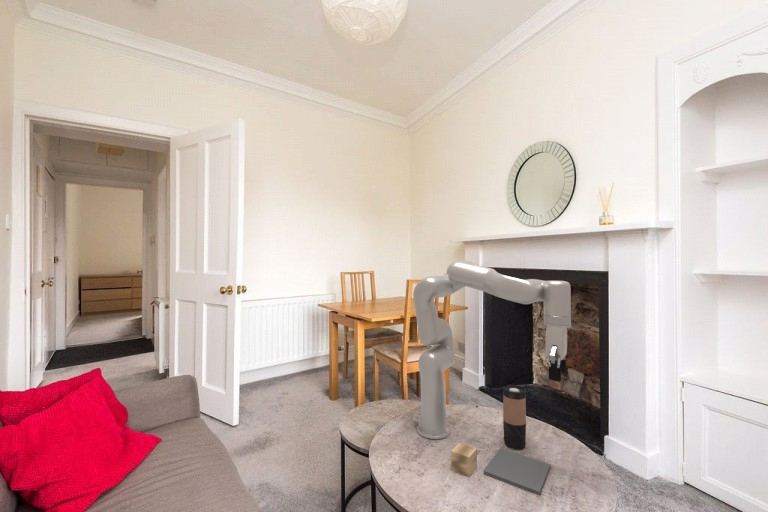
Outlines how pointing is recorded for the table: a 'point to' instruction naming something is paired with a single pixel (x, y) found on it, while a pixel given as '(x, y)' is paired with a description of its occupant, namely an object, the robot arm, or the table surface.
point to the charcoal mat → (518, 470)
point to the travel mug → (514, 417)
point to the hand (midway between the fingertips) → (557, 376)
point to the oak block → (464, 459)
